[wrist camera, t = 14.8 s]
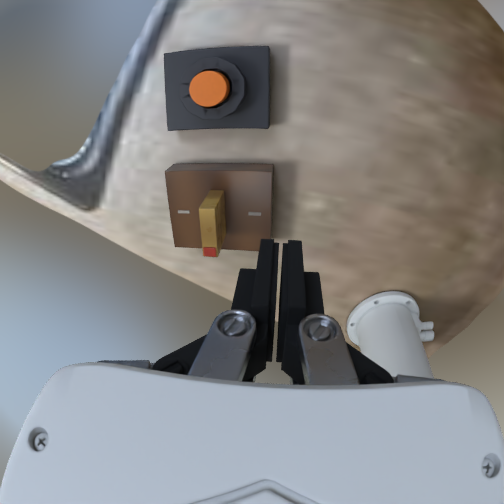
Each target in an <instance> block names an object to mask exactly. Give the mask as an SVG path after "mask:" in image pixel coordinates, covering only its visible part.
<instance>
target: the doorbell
mask: <svg viewBox="0 0 504 504" xmlns="http://www.w3.org/2000/svg"><path fill="white" fill-rule="evenodd" d="M203 71H216V72H219V73H221V74H223V75H224V76H225V77H226V78H227V79H228V81H229V85H230V91H229V94H228V96H227V98H226V99H225V100H224V101H223V102H221V103H220V104H217V105H214V106H211V107H204V106H201V105H198V104H197V103H195V102H194V101H193V99H192V98H191V96H190V92H189V87H190V83H191V81H192V79H193V78H194V77H195V76H196V75H197V74H199V73H201V72H203ZM164 72H165V94H166V112H167V126H168V131H174V130H191V129H220V128H261V129H268V128H269V125H270V48H269V46H241V47H220V48H207V49H196V50H187V51H179V52H172V53H165V54H164Z"/></svg>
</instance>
